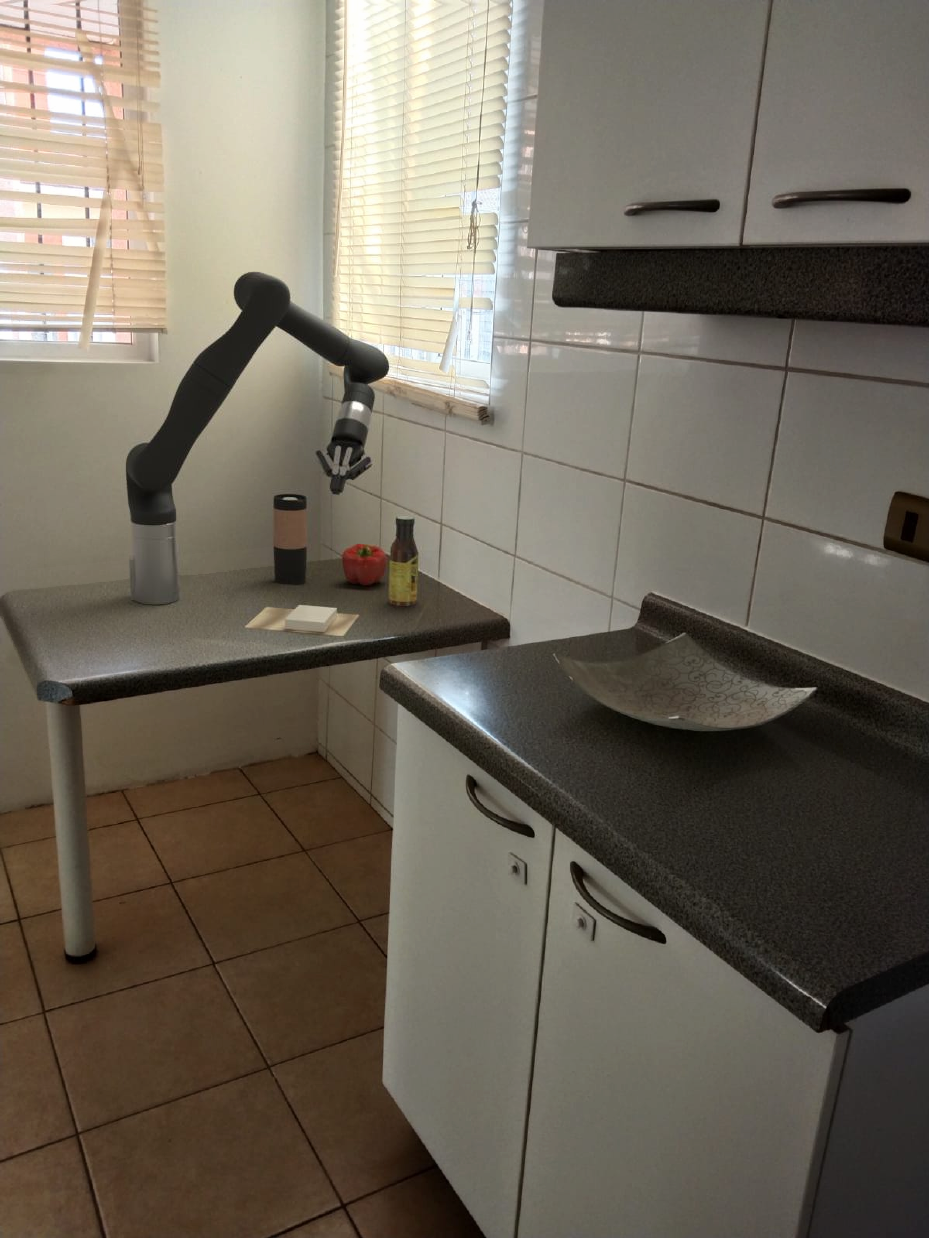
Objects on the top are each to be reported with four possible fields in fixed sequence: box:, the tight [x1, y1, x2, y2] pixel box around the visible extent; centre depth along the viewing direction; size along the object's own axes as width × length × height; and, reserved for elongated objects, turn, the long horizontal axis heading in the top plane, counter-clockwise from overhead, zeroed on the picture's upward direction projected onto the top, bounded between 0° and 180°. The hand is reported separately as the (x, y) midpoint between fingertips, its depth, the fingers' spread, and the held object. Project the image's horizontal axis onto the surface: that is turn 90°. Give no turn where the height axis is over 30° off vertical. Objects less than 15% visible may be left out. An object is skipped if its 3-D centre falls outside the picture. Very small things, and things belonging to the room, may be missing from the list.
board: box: [244, 606, 360, 637], centre depth 204 cm, size 20×14×1 cm
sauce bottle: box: [388, 515, 419, 607], centre depth 218 cm, size 7×6×20 cm
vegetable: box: [341, 543, 388, 586], centre depth 235 cm, size 11×10×10 cm
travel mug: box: [272, 493, 308, 586], centre depth 232 cm, size 8×8×20 cm
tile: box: [285, 604, 338, 632], centre depth 203 cm, size 8×2×10 cm
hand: (335, 492), depth 217 cm, fingers closed
